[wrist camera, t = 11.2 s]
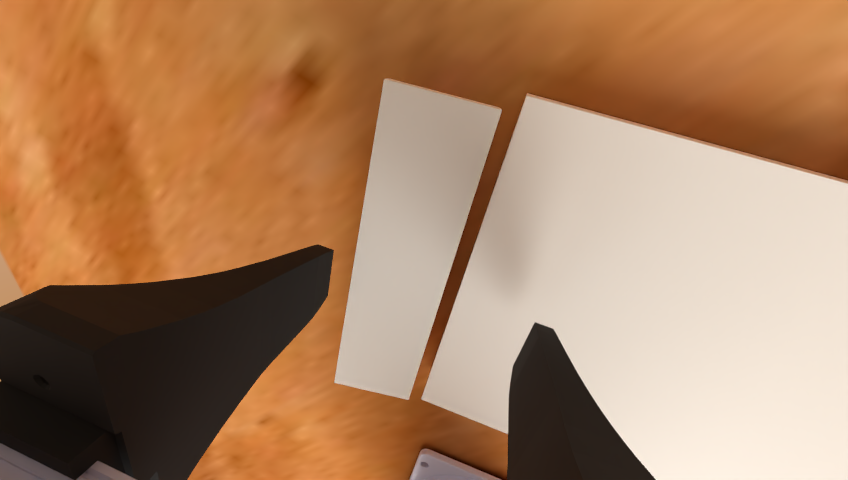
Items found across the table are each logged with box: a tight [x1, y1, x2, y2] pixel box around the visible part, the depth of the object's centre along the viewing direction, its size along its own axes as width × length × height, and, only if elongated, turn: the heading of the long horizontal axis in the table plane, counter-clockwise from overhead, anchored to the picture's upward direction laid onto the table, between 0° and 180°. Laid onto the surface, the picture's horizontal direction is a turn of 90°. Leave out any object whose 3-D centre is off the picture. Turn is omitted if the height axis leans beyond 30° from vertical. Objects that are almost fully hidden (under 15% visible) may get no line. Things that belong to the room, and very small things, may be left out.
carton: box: [421, 93, 848, 480], centre depth 13 cm, size 14×22×2 cm, turn 77°
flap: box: [334, 78, 502, 400], centre depth 14 cm, size 13×4×2 cm, turn 167°
